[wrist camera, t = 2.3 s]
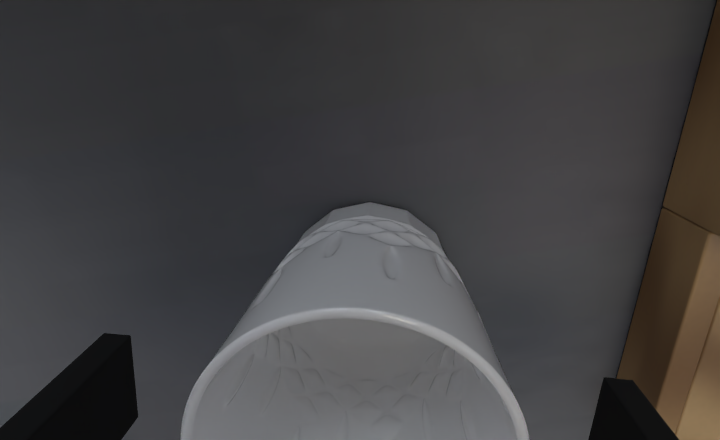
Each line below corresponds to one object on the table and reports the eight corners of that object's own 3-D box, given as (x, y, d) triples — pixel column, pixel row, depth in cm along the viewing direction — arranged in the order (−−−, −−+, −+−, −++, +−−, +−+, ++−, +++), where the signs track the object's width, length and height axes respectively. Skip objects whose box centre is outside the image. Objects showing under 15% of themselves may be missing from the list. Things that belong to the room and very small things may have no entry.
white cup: (306, 371, 22) (240, 606, 12) (254, 210, 20) (127, 346, 10) (479, 341, 21) (552, 573, 11) (446, 167, 19) (502, 275, 9)
